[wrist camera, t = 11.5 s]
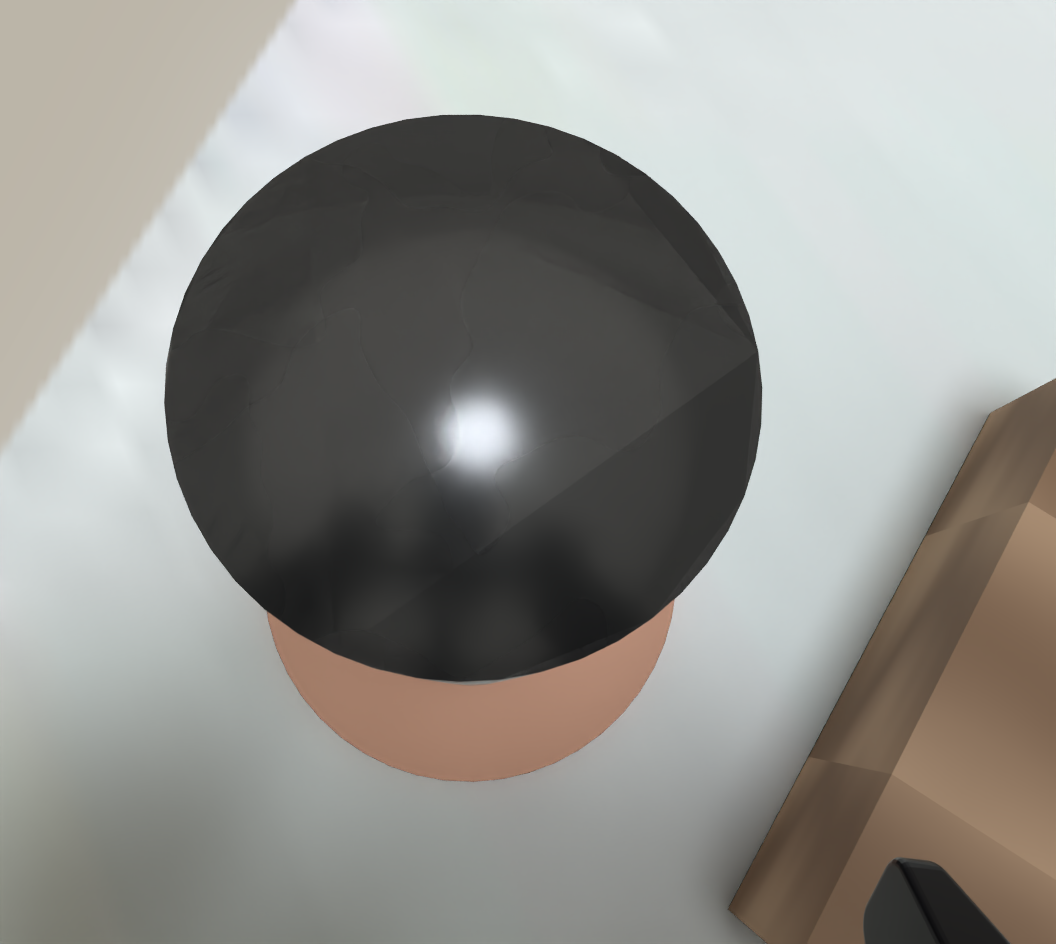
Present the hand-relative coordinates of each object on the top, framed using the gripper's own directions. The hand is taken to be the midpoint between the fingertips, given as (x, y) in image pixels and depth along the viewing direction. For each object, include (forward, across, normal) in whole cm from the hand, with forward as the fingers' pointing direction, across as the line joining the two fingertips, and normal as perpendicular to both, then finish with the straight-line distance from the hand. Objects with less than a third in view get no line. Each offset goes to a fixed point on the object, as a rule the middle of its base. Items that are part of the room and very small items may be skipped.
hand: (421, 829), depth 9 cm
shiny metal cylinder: (+10, 0, +5) cm, 11 cm away
